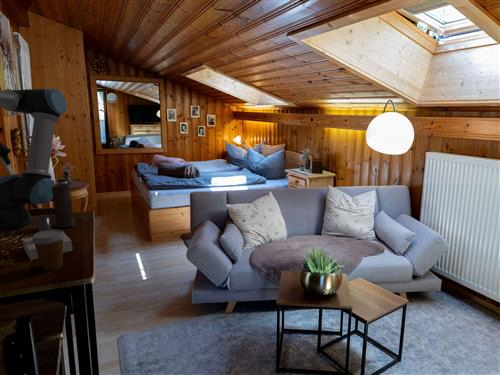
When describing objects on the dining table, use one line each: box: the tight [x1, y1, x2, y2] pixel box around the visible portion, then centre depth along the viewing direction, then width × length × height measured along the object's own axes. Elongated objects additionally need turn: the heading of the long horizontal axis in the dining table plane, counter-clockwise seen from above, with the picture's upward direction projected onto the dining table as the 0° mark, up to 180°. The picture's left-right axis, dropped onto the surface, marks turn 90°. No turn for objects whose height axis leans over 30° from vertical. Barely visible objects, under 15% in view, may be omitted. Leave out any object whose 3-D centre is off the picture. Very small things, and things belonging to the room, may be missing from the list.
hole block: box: [22, 230, 73, 261], centre depth 138 cm, size 14×14×4 cm
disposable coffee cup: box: [32, 229, 64, 271], centre depth 122 cm, size 10×10×12 cm
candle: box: [52, 183, 76, 228], centre depth 162 cm, size 8×7×20 cm
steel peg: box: [37, 215, 52, 232], centre depth 137 cm, size 4×4×13 cm
